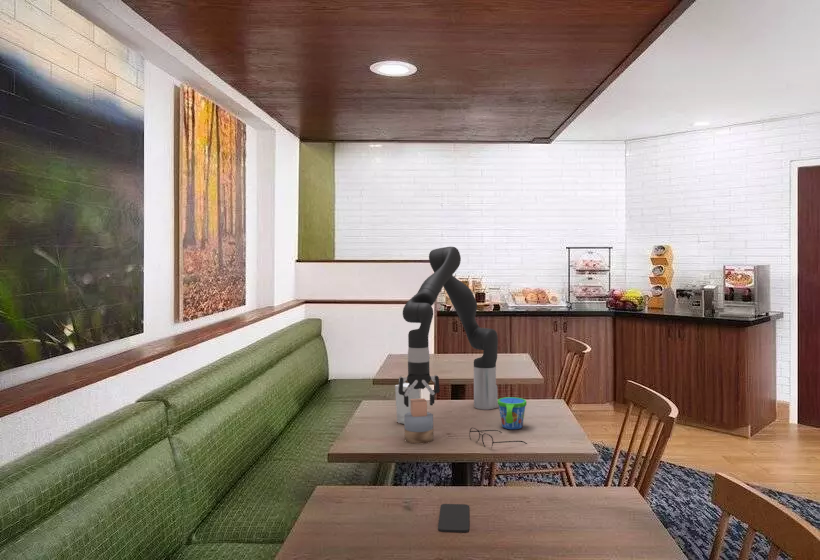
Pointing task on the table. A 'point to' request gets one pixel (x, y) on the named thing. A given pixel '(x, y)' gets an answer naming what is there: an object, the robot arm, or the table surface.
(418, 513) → the table surface
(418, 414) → the terracotta cube
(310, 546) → the table surface
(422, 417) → the slate top puck
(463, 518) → the phone
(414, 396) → the skincare box
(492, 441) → the glasses
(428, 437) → the disc
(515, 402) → the snack cup
